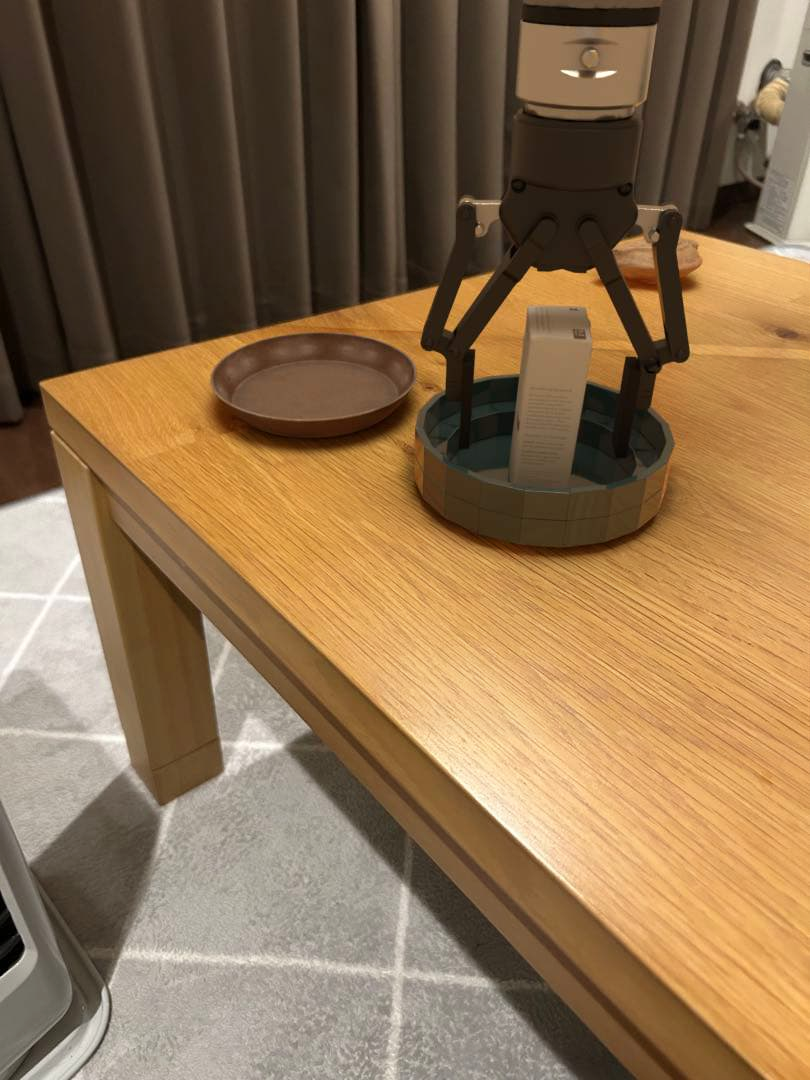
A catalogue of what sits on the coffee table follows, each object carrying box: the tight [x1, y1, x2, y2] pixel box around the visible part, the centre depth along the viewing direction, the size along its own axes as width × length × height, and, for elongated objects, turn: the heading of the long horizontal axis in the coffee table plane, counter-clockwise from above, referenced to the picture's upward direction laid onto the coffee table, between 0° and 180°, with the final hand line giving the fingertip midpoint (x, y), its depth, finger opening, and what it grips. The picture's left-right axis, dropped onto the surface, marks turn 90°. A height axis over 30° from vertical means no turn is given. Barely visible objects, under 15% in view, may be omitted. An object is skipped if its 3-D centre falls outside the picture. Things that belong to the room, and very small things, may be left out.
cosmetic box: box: [509, 304, 594, 489], centre depth 61 cm, size 6×4×12 cm
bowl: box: [413, 373, 676, 548], centre depth 63 cm, size 18×18×5 cm
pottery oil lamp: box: [612, 235, 704, 285], centre depth 103 cm, size 9×12×7 cm
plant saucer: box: [209, 331, 418, 439], centre depth 75 cm, size 18×18×3 cm
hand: (541, 444), depth 63 cm, fingers open, 10 cm apart
